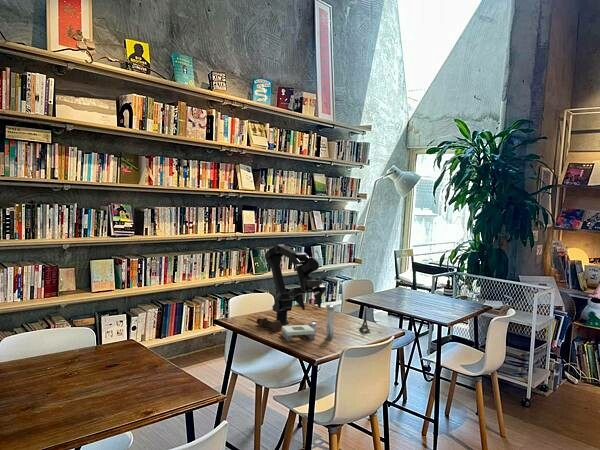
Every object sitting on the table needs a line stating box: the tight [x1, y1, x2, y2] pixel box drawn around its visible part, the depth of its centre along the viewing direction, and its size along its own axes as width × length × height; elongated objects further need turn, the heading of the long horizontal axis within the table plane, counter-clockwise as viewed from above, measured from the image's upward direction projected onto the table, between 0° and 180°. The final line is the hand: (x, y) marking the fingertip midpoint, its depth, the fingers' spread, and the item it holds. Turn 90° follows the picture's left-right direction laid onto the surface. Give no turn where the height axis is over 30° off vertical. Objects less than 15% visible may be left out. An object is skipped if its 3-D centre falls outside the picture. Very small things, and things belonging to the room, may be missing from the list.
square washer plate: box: [281, 324, 316, 342], centre depth 205 cm, size 10×13×4 cm
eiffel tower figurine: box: [348, 307, 383, 335], centre depth 218 cm, size 15×10×13 cm
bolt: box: [255, 317, 283, 333], centre depth 218 cm, size 6×5×15 cm
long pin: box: [325, 304, 337, 340], centre depth 204 cm, size 4×4×16 cm
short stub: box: [307, 321, 318, 334], centre depth 213 cm, size 4×4×5 cm
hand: (312, 308), depth 207 cm, fingers open, 9 cm apart
